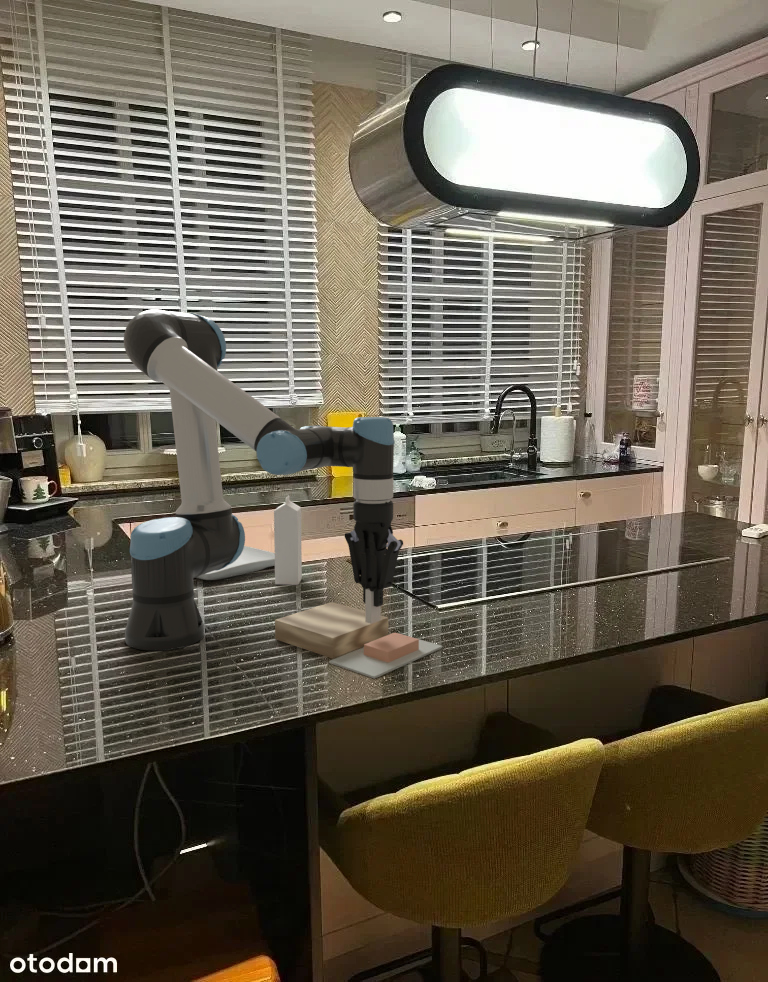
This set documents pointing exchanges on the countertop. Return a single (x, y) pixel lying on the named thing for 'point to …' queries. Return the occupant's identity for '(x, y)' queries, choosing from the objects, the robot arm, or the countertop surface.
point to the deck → (329, 629)
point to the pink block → (391, 647)
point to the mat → (378, 667)
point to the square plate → (244, 564)
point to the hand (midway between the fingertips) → (372, 621)
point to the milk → (288, 543)
